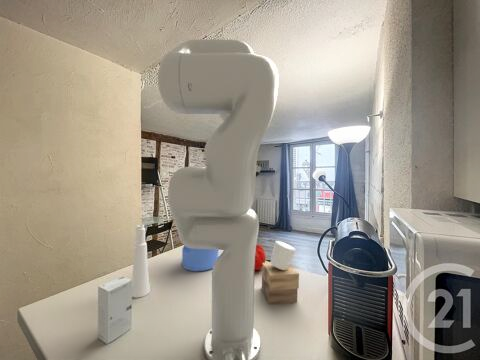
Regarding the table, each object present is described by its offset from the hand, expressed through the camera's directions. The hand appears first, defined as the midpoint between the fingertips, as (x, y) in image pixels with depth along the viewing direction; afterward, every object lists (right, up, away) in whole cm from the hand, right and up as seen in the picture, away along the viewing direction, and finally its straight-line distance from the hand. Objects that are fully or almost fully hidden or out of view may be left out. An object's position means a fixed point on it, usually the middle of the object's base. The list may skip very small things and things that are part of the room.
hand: (237, 190), depth 74 cm
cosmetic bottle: (-32, -33, -7) cm, 46 cm away
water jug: (-16, -33, +15) cm, 40 cm away
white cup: (+13, -24, -8) cm, 29 cm away
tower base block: (+13, -34, -8) cm, 37 cm away
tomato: (+6, -33, +12) cm, 36 cm away
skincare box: (-29, -34, -24) cm, 51 cm away
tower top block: (+14, -29, -8) cm, 33 cm away
